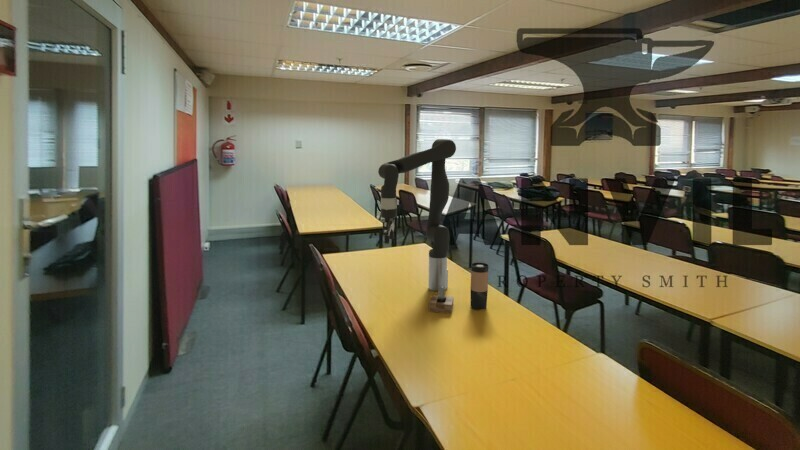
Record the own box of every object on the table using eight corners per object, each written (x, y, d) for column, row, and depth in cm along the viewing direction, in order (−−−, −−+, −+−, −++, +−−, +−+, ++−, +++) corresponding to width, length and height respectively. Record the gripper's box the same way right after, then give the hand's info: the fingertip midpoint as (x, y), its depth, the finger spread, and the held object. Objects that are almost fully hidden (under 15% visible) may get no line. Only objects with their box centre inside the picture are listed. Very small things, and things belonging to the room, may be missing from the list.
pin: (440, 306, 189) (441, 285, 187) (445, 307, 187) (446, 287, 185) (436, 307, 187) (437, 286, 185) (441, 309, 185) (442, 288, 183)
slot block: (432, 303, 192) (432, 295, 192) (453, 304, 190) (453, 296, 190) (428, 311, 183) (429, 303, 182) (451, 313, 181) (451, 304, 180)
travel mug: (488, 305, 189) (490, 263, 185) (484, 311, 183) (486, 268, 179) (472, 302, 193) (473, 261, 189) (467, 308, 186) (469, 266, 182)
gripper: (384, 204, 198) (385, 237, 201) (376, 209, 185) (377, 244, 188) (399, 205, 197) (400, 238, 200) (393, 210, 183) (393, 245, 186)
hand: (389, 241), depth 194 cm, fingers open, 8 cm apart
